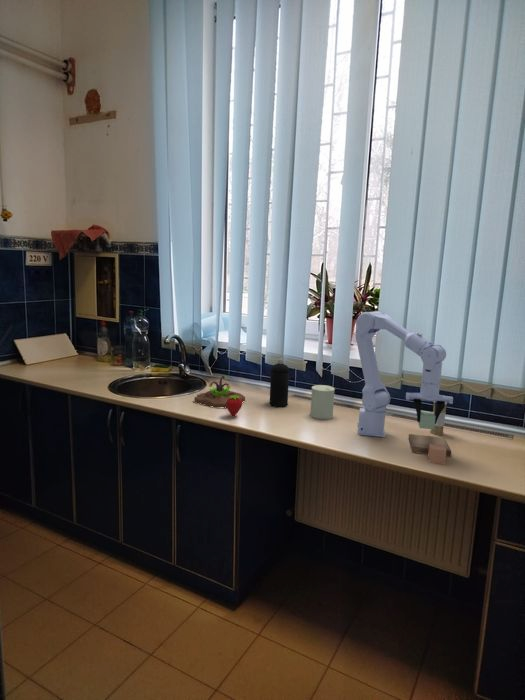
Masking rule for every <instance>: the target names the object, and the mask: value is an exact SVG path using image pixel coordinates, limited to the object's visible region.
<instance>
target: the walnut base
mask: <svg viewBox="0 0 525 700" xmlns="http://www.w3.org/2000/svg"><path fill="white" fill-rule="evenodd" d="M407 441H408V443H409V446H410V447H409V448H410V451H411V453H415V454H416V453H417V454H425V455H428V451H429V444H437V445H444V446H445V448H446V457H451V455H452V449H451V447H450V445H449V443H448V442H447V439H446V438H445V437H441V436H433V435H432V436H431V435H424V434H423V435H422V434H413V433H409V434H408V439H407Z"/></svg>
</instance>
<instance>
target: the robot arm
mask: <svg viewBox="0 0 525 700" xmlns="http://www.w3.org/2000/svg"><path fill="white" fill-rule="evenodd" d="M380 330H386V331H387V332H388V333H391V334H392V335H394V336H396V337H397V338H399V339H400V340H402V341H403V342H404V346H405V347H406V348H407V349H409V350H411V351H412V352H413V353H415V354H416V355H417V356H419V357H420V359H421V362H422V363H423V365H422V375H421V385H420V392H405V400H406V401H407V400H410V401H411V400H412V402H413V404H414V409H415V411H416V412H415V413H416V418H417V419H416V422H417V423H418V422H420V413H421V411H422V406H423V405H422V402H423V401H424V402H433V403H434V402H435V413H434V414H435V416H436V417H435V424H436V423H437V419H438V417H439V415H440V413H441V412H442V410H443V409H444V407H445V403H447V404H451V405H453V404H454V403H453V402H454V397H453V396H450V395H449V396H448V395H443V394H440V387H441V386H440V385H441V378H442V370H443V369H442V368H443V362H444V361H445V359H446V357H447V352H446V349H445V348H444V347H443V346H442V345H441V344H434V342H433V340H432V341H429V340H428V339H427V338H425V337H424V336H423V333H421V332H416V331H413V332H410V331H408V330H407V329H406V328H405V327H404V326H402V325H401V324H400V323H398V322H397V321H396V320H394V319H393V318H391V316H390V315H389V314H386V313H385V312H383V311H382V310H376V311H364V312H363V311H362V313H361V314H359V315H358V317H357V319H356V333H355V340H356V345H357V346H356V347H357V350H358V355H359V359H360V365H361V369H362V374H363V379H364V387H363V388H362V390H361V393H362V398H361V402H362V405H363V407H359V414H358V422H357V425H356V427H357V429H358V430H357V434H358V436H359V435H360V436H369V437H370V436H371V437H378V438H379V437H380V438H386V431H385V430H386V429H385V423H386V411H387V406H388V405H389V404H390V402H391V395H390V393H389V391H388V390H387V387H386V385H385V384H384V383H383V381H381V376H380V371H379V366H378V361H377V357H376V351H375V348H374V343H373V338H374V337H375V335H376V334H377V333H378V332H379V331H380Z"/></svg>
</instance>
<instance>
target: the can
mask: <svg viewBox="0 0 525 700" xmlns="http://www.w3.org/2000/svg"><path fill="white" fill-rule="evenodd" d="M335 390H336V388H335V386H334V387H333V386H331V385H326V384H325V385H324V384H317V385H313V386H311V395H310V396H311V397H310V398H311V399H310V400H311V402H310V411H309V412H310V413H309V416H310V417H311V418H313V417H314V419H316V418H317V419H316V420H331V419H333V418H334V404H335V403H334V402H335V401H334V400H335Z"/></svg>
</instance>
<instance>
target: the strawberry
mask: <svg viewBox="0 0 525 700" xmlns="http://www.w3.org/2000/svg"><path fill="white" fill-rule="evenodd" d="M239 397H240V396H237V395H235V396H234V395H233V396H230V397H229V399H228V400H227V402H226V406H227V408H226V409H227V411H228V412H229V415H231V416H232V417H233V416H234V417H236V415H237V414H238V413H239V411H240V410H241V409H242V406H243V403H242V399H241V398H239Z"/></svg>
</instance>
